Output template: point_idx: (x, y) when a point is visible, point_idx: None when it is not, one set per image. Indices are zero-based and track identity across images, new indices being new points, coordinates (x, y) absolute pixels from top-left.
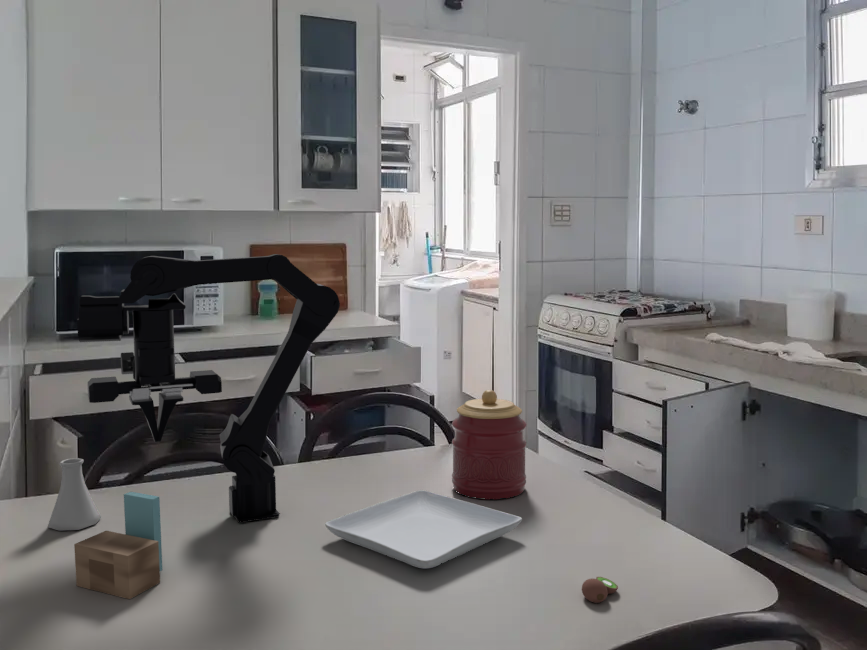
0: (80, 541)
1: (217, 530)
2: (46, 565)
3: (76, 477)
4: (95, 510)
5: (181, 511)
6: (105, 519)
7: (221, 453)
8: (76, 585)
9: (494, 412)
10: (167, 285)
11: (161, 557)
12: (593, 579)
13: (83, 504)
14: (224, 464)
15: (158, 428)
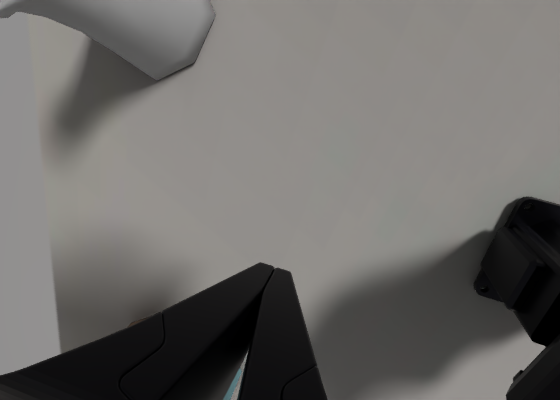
0: None
1: (409, 285)
2: (97, 222)
3: (59, 16)
4: (188, 24)
5: (413, 101)
6: (225, 28)
7: (556, 378)
8: (131, 323)
9: None
10: None
11: (233, 389)
12: None
13: (138, 48)
14: (507, 395)
15: (243, 372)
